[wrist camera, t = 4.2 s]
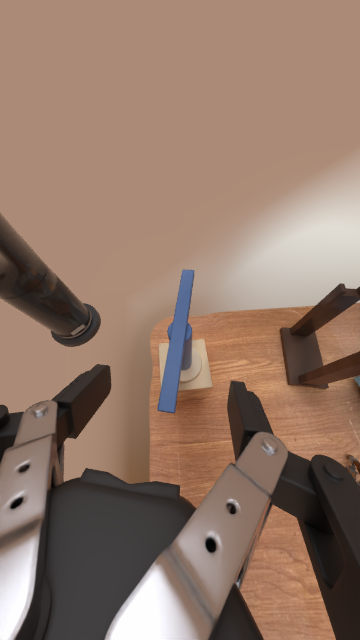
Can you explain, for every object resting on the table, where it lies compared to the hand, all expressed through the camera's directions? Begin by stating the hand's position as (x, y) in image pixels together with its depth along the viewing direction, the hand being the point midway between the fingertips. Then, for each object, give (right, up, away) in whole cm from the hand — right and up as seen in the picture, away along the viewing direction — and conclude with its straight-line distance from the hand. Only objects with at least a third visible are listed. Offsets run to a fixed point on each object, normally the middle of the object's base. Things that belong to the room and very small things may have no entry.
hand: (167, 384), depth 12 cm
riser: (+2, -9, +26) cm, 28 cm away
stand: (+27, -4, +28) cm, 39 cm away
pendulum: (+1, -2, +14) cm, 14 cm away
